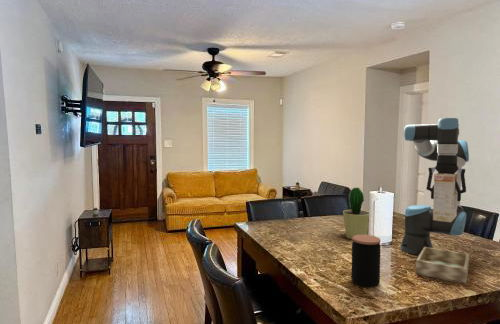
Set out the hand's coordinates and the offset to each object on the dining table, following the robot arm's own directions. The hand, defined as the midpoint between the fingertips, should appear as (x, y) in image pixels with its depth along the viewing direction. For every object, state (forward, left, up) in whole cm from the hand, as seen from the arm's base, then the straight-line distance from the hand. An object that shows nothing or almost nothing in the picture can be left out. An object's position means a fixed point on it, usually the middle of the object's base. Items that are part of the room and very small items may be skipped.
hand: (445, 207), depth 144 cm
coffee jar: (-24, -32, -28) cm, 49 cm away
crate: (0, 0, -28) cm, 28 cm away
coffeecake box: (0, 0, -5) cm, 5 cm away
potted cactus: (-47, +29, -28) cm, 62 cm away
